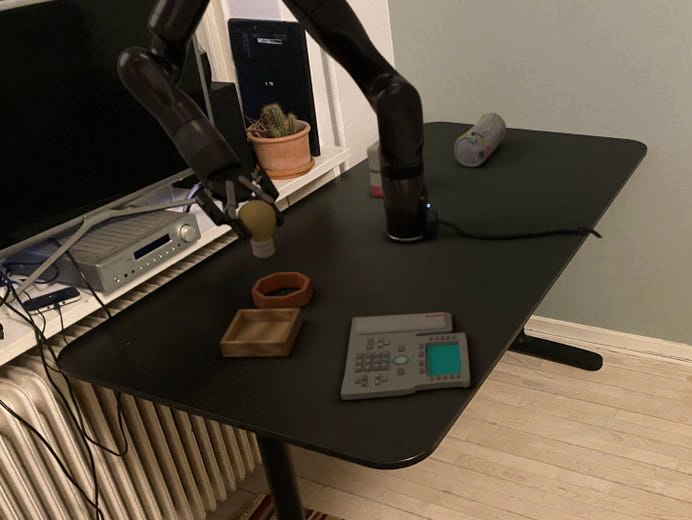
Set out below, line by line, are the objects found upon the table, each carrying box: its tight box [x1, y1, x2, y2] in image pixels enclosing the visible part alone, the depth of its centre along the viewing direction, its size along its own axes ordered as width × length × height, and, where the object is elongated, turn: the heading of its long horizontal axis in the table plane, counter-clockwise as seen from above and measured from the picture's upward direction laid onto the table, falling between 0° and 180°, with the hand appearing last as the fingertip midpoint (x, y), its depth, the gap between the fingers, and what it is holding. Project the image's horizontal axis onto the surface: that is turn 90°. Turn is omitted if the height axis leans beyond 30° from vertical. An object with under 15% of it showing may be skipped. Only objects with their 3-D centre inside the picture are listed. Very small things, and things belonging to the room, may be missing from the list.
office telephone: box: [340, 311, 471, 401], centre depth 121 cm, size 23×3×20 cm
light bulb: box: [237, 200, 276, 259], centre depth 126 cm, size 6×6×10 cm
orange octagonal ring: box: [251, 271, 314, 309], centre depth 138 cm, size 10×10×3 cm
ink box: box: [366, 139, 383, 198], centre depth 179 cm, size 9×5×12 cm, turn 161°
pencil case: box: [453, 112, 507, 168], centre depth 198 cm, size 21×9×10 cm, turn 160°
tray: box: [219, 307, 304, 358], centre depth 126 cm, size 11×11×3 cm
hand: (265, 231), depth 125 cm, fingers closed on light bulb, 6 cm apart
